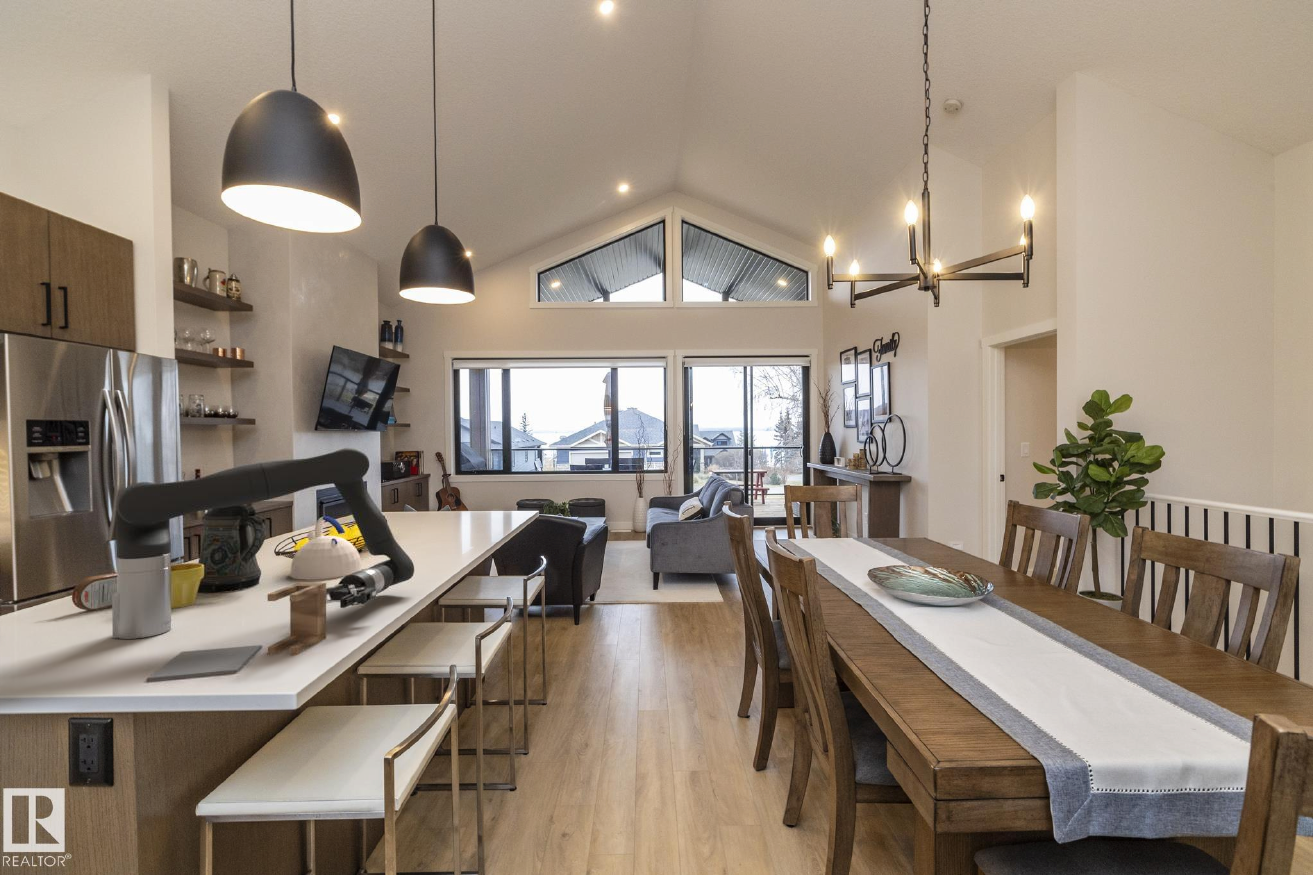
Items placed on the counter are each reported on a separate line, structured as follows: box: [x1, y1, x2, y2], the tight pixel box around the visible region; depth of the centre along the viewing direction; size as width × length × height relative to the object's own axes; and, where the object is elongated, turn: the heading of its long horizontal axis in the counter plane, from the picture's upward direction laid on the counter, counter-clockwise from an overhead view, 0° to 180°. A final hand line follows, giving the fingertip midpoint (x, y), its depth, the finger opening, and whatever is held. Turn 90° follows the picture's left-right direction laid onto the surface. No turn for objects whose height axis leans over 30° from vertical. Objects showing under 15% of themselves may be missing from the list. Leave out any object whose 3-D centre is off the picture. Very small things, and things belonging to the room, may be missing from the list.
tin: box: [71, 572, 117, 612], centre depth 159 cm, size 15×3×8 cm, turn 159°
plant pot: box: [171, 562, 204, 609], centre depth 160 cm, size 10×10×10 cm
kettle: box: [289, 515, 362, 581], centre depth 198 cm, size 20×21×18 cm
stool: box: [267, 581, 327, 656], centre depth 129 cm, size 10×6×12 cm, turn 177°
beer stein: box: [197, 504, 267, 594], centre depth 180 cm, size 16×19×25 cm
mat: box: [146, 644, 263, 682], centre depth 119 cm, size 14×14×1 cm
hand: (323, 603), depth 138 cm, fingers open, 8 cm apart
